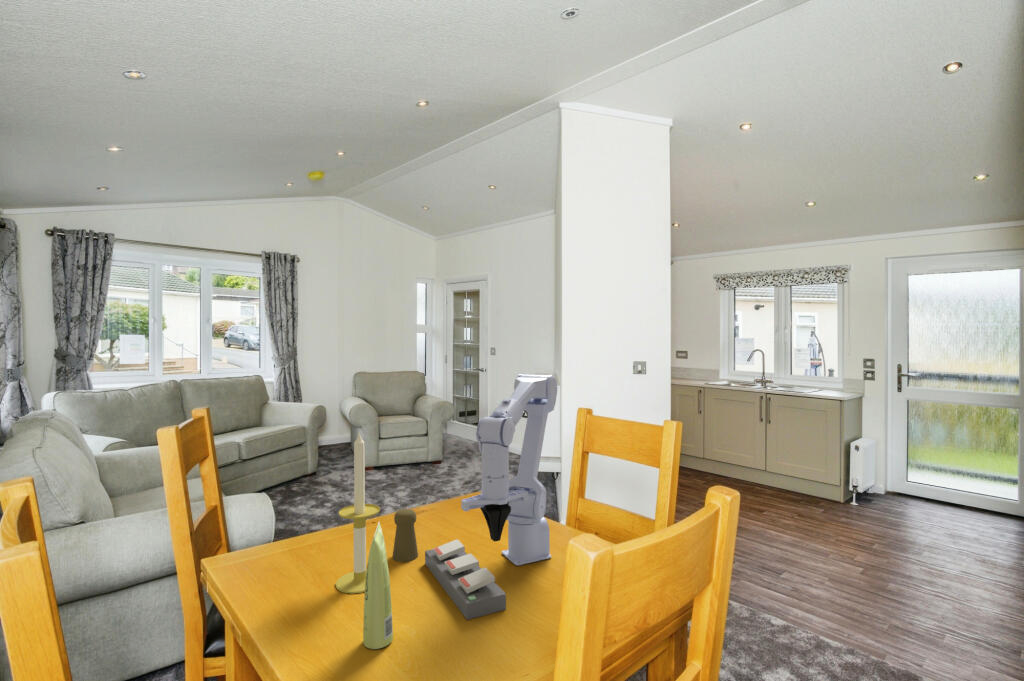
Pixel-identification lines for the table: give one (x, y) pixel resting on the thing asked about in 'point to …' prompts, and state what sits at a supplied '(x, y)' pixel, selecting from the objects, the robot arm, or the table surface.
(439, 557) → the rocker
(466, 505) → the robot arm
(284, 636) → the table surface
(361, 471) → the candle
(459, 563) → the rocker
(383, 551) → the tube
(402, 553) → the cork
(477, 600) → the strip
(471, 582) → the rocker
